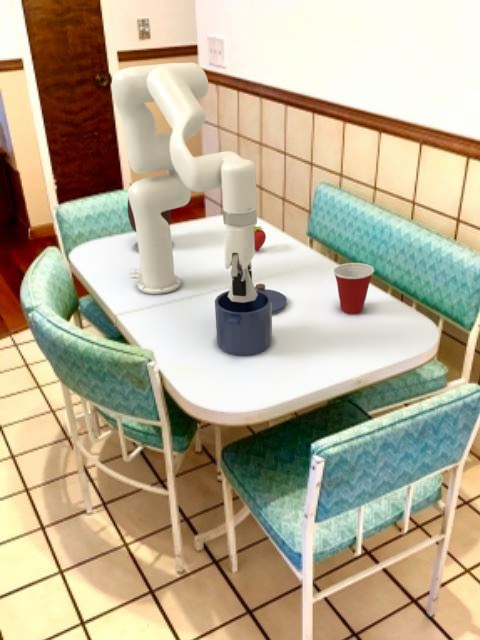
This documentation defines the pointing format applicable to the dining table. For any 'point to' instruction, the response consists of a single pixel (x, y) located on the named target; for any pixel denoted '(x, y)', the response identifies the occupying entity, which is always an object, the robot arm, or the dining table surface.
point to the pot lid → (274, 298)
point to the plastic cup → (353, 285)
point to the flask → (250, 290)
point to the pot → (244, 324)
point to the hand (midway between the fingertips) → (242, 289)
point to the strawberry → (259, 237)
